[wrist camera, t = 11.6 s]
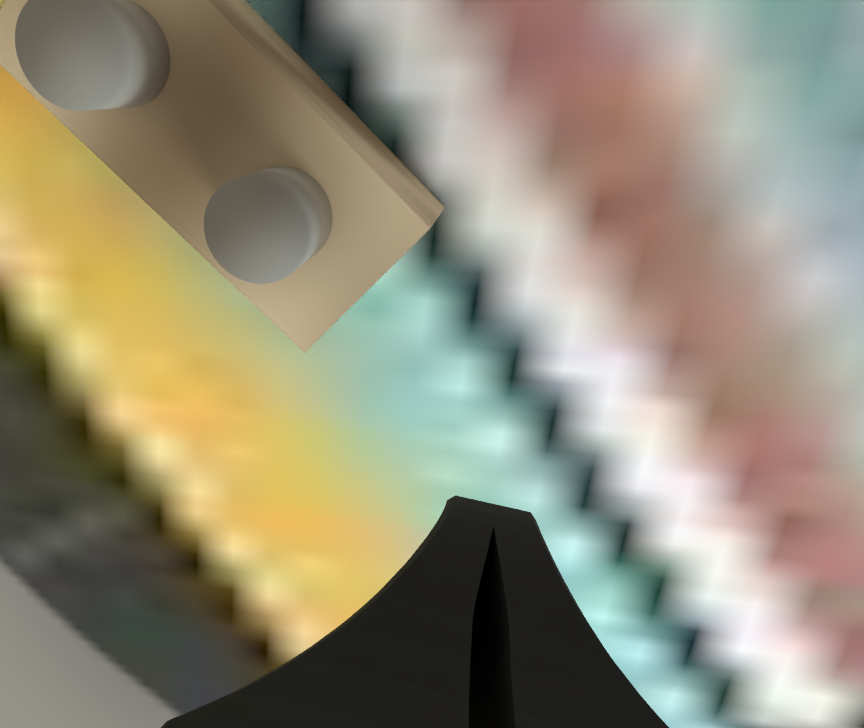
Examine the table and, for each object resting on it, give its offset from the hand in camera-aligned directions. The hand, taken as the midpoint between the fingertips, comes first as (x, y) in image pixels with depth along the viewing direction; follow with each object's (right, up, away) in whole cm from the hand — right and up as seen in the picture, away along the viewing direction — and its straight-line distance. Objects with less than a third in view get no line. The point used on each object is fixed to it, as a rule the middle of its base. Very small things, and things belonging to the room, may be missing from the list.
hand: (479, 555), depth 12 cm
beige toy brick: (-5, +9, +6) cm, 12 cm away
